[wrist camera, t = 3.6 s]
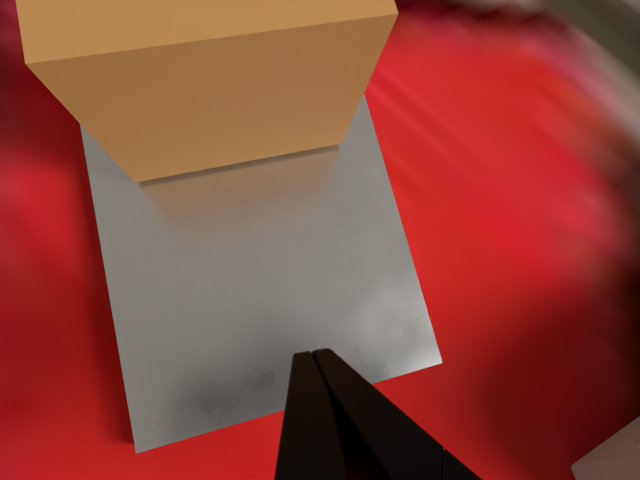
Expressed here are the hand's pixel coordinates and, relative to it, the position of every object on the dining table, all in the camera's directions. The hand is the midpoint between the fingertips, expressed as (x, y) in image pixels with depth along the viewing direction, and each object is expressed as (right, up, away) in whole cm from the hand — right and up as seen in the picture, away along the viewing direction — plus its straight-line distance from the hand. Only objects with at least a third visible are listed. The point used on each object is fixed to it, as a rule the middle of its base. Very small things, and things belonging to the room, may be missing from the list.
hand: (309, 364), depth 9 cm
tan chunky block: (-5, +11, +11) cm, 16 cm away
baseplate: (-4, +7, +12) cm, 14 cm away
